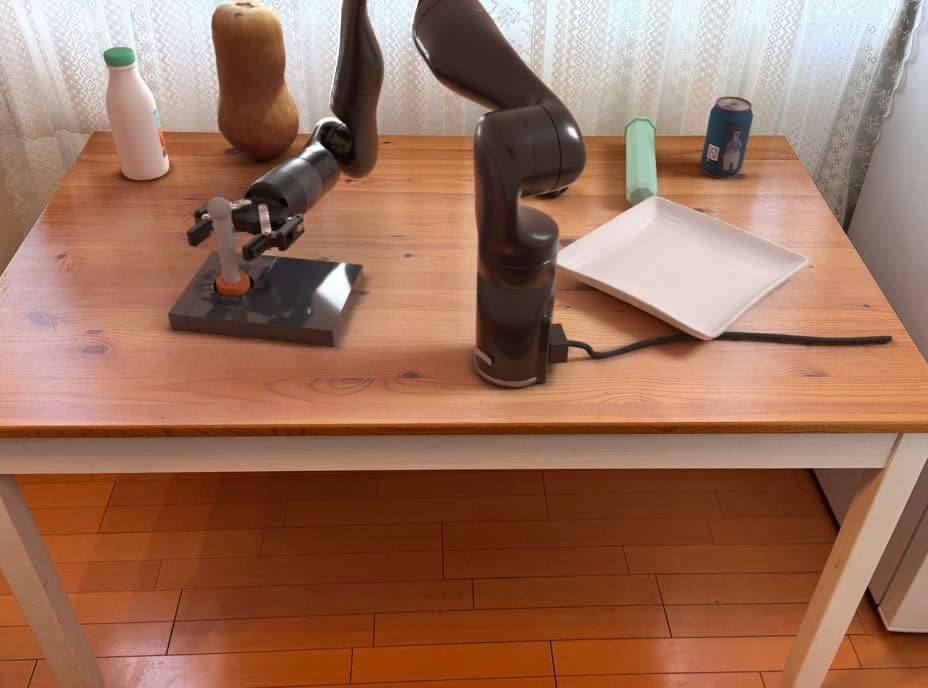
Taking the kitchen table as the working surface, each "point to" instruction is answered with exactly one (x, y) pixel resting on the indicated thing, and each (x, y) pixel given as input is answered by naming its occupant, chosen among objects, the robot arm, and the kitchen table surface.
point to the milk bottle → (133, 118)
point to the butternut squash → (253, 80)
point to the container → (640, 160)
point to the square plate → (680, 265)
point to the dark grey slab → (272, 300)
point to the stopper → (227, 250)
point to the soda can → (726, 137)
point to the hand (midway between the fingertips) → (217, 247)
